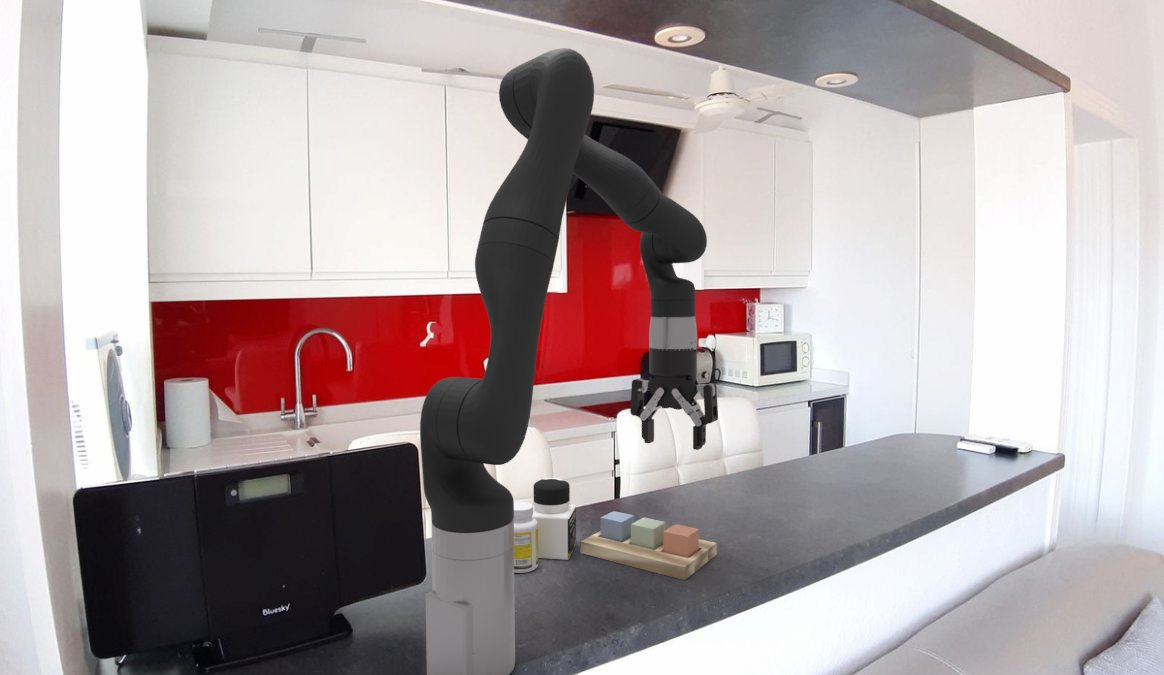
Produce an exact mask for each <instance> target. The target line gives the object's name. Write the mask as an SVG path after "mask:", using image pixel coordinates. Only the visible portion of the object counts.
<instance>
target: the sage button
mask: <svg viewBox="0 0 1164 675" xmlns="http://www.w3.org/2000/svg"><path fill="white" fill-rule="evenodd" d="M666 524H667V523H666V521H661V520H657V519H653V518H648V517H645V516H644V517H642V518H640V519H638V520H636V521H634V523H632V524H631V545H636V546H640V547H644V548H648V549H652V550H655V549H657V548H658V547H660V546H661V545H663V535H664V531H665V530H667V529H666Z"/></svg>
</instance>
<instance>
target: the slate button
mask: <svg viewBox="0 0 1164 675" xmlns="http://www.w3.org/2000/svg"><path fill="white" fill-rule="evenodd" d="M599 521H600V527H599V528H600V530H599V531H600V537H602V538H606V539H611V540H615V541H619V542H624V541H626V540H627V539H629V538H631V524H632V523H634V522H635V515H634V514H630V513H624V512H619V511H615V510H613V511H611V512H609V513H607V514H605V515H603V516H601V517H600V520H599Z"/></svg>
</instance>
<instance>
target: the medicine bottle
mask: <svg viewBox="0 0 1164 675" xmlns="http://www.w3.org/2000/svg"><path fill="white" fill-rule="evenodd" d="M570 486H571V485H570V483H569V481H567V480H564V479H563V478H557V477H548V478H542V479H539V480H537V481H536V482H534V484H533V515H532V517H533V518H535V519H536V520H537V523H538V559H547V560H562V561H568V560H570V558H571V555H572V553H573V552H574V549H575V547H576V545H577V506H576V504H572V503H571V498H570V496H571V492H570V490H571V489H570V488H571V487H570ZM570 503H571V504H570Z"/></svg>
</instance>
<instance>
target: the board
mask: <svg viewBox="0 0 1164 675" xmlns="http://www.w3.org/2000/svg"><path fill="white" fill-rule="evenodd" d="M717 544H718V543H717V542H713V541H709V540H705V539H700V538H699V551H697V552H696V553H695V554H693V555H692V556H690V557H689V558H686V557H681V556H677V555H673V554H669V553H665V552H663V545H661V546H660V547H658V548H657V549H655V550H652V549H648V548H644V547H640V546H636V545H631V538H629V539H627V540H626V541H624V542H619V541H615V540H611V539H606V538H602V537H600V530H599V531H597V532H596V533H594V534H592V535H590V536H588V537H587V538H585V539H582V540H580V554H583V555H587V556H590V557H595V558H598V559H600V560H601V559H602V560H605V561H606V560H607V561H611V562H614V563H617V564H621V565H625V566H629V567H632V568H636V569H641V570H644V571H648V572H652V573H655V574H659V575H662V576H666V577H667V576H668V577H670V578H675V579H677V580H681V581H685V580H687V579H688V578H690V577H691V576H692V575H693V574H695V573H696V572H697V571H698V570H699V569H701V568H702V567H703V566H705V564H707V563H709V562H710V561H711V560H712V559H713V558H715V557H716V556H717V550H718V549H717Z"/></svg>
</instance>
